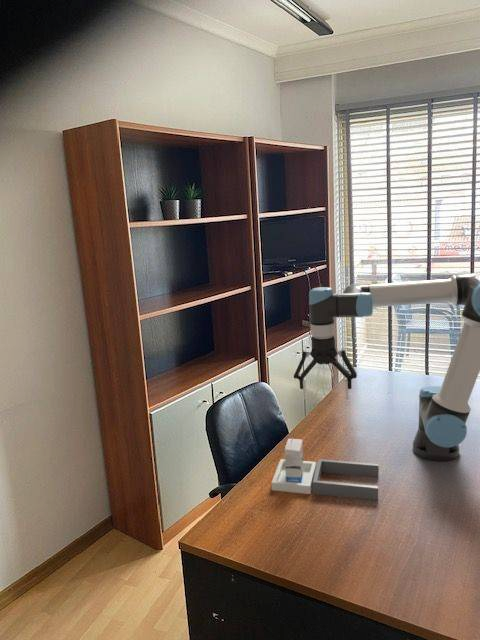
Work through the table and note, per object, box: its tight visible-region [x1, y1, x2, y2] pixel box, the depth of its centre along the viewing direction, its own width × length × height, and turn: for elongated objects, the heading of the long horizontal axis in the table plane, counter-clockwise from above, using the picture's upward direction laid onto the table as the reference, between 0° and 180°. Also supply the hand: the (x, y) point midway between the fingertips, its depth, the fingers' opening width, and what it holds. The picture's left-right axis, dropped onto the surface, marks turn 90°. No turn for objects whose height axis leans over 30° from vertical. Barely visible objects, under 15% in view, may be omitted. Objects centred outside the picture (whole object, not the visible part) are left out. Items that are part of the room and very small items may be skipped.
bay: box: [312, 458, 380, 501], centre depth 160 cm, size 19×14×4 cm
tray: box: [271, 458, 317, 495], centre depth 164 cm, size 12×15×3 cm
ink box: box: [284, 438, 304, 483], centre depth 163 cm, size 9×5×12 cm, turn 167°
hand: (326, 398), depth 168 cm, fingers open, 13 cm apart
